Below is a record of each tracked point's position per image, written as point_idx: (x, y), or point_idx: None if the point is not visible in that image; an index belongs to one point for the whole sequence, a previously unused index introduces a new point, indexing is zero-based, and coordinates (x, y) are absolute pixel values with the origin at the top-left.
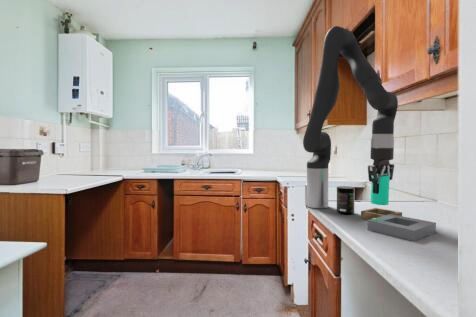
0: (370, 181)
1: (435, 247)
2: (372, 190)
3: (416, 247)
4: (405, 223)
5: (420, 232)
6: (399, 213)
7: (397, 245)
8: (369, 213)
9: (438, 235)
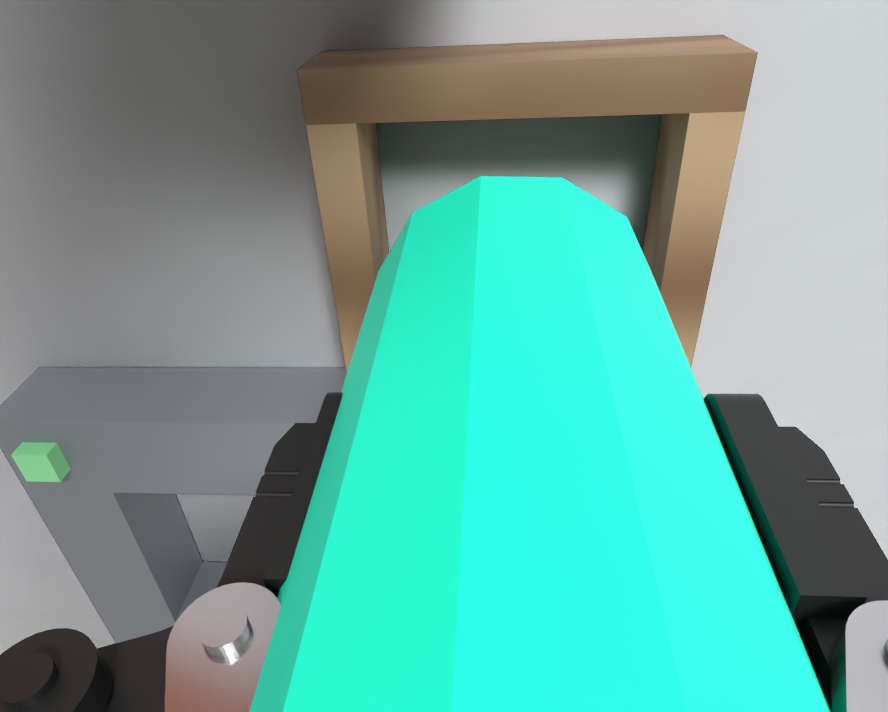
0: (57, 653)
1: None
2: (346, 398)
3: (85, 630)
4: None
5: None
6: None
7: (10, 584)
8: (321, 211)
9: None
